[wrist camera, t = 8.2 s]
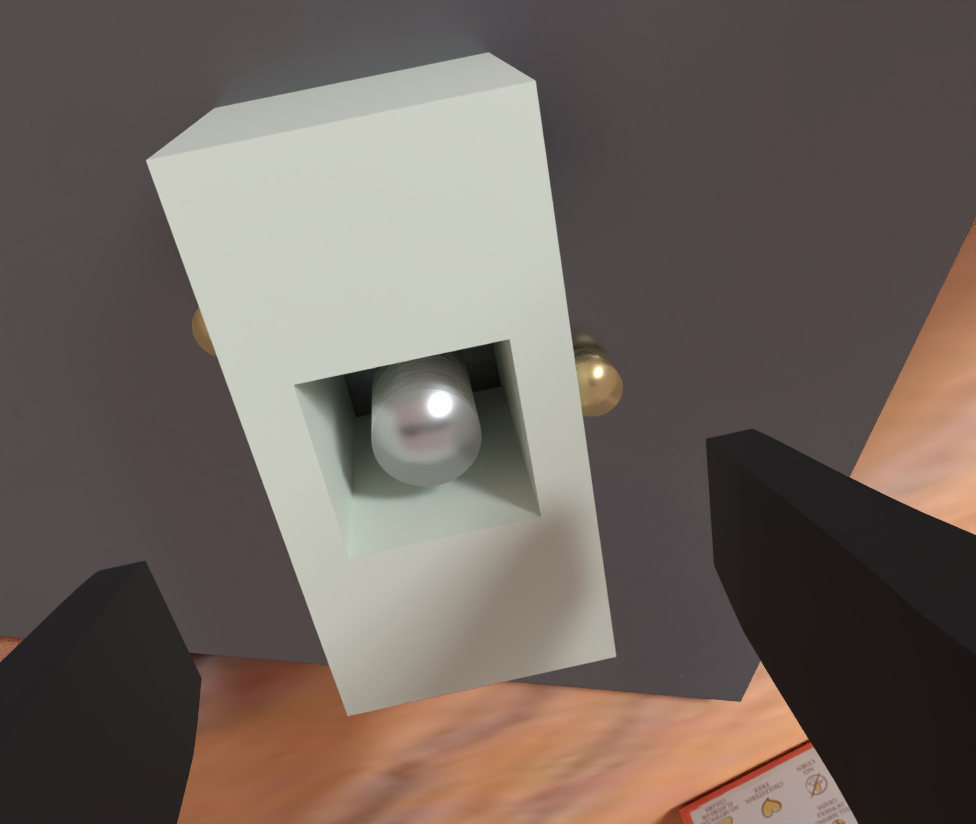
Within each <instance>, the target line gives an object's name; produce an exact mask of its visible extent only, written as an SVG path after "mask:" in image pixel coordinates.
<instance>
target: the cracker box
mask: <svg viewBox="0 0 976 824" xmlns="http://www.w3.org/2000/svg"><path fill="white" fill-rule="evenodd" d="M679 816H680V819H681V821H682V824H858V823H857V821H856V819H855V817H854V815H853V813H852V811H851V810H850V808H849V806H848V804H847V802H846V801H845V799H844V797H843V795H842V794H841V792H840V790H839V788H838V786H837V785H836V783H835V781H834V779H833V778H832V776H831V775H830V773H829V771H828V770H827V768H826V766H825V765H824V763H823V762H822V760H821V758H820V757H819V755H818V753H817V752H816V750H815V749H814V747H813V745H812V744H811V742H809V743H807V744H805V745H803V746H802V747H800V748H798V749H796V750H794V751H792V752H790V753H788V754H786V755H784V756H782V757H780V758H778V759H776V760H774V761H772V762H770V763H768V764H766V765H764V766H763V767H761V768H759V769H757V770H755V771H753V772H751V773H749V774H747V775H745V776H743V777H741V778H740V779H738V780H736V781H734V782H732V783H729V784H727V785H725V786H724V787H722V788H720V789H718V790H716V791H714V792H712V793H710V794H708V795H706V796H704V797H702V798H700V799H698V800H696V801H694V802H693V803H691V804H689V805H687V806H685V807H683V808H682V809H680V811H679Z"/></svg>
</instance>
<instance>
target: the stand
mask: <svg viewBox="0 0 976 824" xmlns="http://www.w3.org/2000/svg"><path fill="white" fill-rule="evenodd" d="M488 52H489V53H491V54H492V55H494V56H496V57H497V58H499V59H501V60H502V61H504V62H506V63H507V64H509V65H510V66H512V67H514V68H515V69H517V70H519V71H520V72H522V73H524V74H525V75H527V76H529V77H530V78H532V79H534V80H535V81H536V87H537V94H538V101H539V108H540V115H541V122H542V130H543V137H544V144H545V151H546V158H547V165H548V172H549V180H550V187H551V194H552V201H553V208H554V215H555V222H556V230H557V237H558V244H559V251H560V258H561V265H562V272H563V280H564V287H565V294H566V301H567V308H568V315H569V323H570V330H571V337H572V344H573V351H574V358H575V365H576V373H577V380H578V387H579V394H580V401H581V408H582V415H583V423H584V430H585V437H586V444H587V451H588V458H589V465H590V473H591V480H592V487H593V494H594V501H595V508H596V515H597V523H598V530H599V537H600V544H601V551H602V558H603V565H604V573H605V580H606V587H607V594H608V601H609V608H610V615H611V623H612V630H613V637H614V644H615V651H616V657H613V658H609V659H604V660H600V661H595V662H591V663H586V664H582V665H577V666H573V667H568V668H563V669H559V670H554V671H550V672H545V673H541V674H536V675H532V676H527V677H523V678H518V679H514V680H509V681H512V682H524V683H535V684H546V685H557V686H569V687H580V688H591V689H602V690H614V691H625V692H636V693H647V694H659V695H670V696H681V697H692V698H704V699H715V700H726V701H737V702H741V700H742V698H743V696H744V694H745V691H746V689H747V687H748V685H749V683H750V681H751V679H752V677H753V675H754V673H755V671H756V669H757V667H758V665H759V663H760V661H761V660H760V659H759V657H758V655H757V654H756V652H755V650H754V649H753V647H752V645H751V644H750V642H749V640H748V639H747V637H746V635H745V634H744V632H743V630H742V628H741V625H740V623H739V621H738V619H737V617H736V614H735V612H734V610H733V608H732V606H731V604H730V601H729V599H728V597H727V594H726V592H725V590H724V587H723V585H722V583H721V581H720V578H719V576H718V574H717V571H716V569H715V567H714V559H713V544H712V529H711V513H710V498H709V482H708V467H707V452H706V439H707V438H711V437H716V436H720V435H725V434H730V433H734V432H739V431H743V430H748V429H755V430H757V431H759V432H762V433H764V434H766V435H768V436H770V437H772V438H774V439H776V440H778V441H780V442H782V443H784V444H786V445H788V446H790V447H792V448H793V449H795V450H797V451H799V452H801V453H803V454H805V455H807V456H809V457H811V458H813V459H815V460H817V461H818V462H820V463H822V464H824V465H826V466H828V467H830V468H832V469H834V470H836V471H838V472H840V473H842V474H844V475H846V476H848V477H850V475H851V473H852V471H853V469H854V467H855V465H856V463H857V461H858V458H859V456H860V454H861V452H862V450H863V448H864V446H865V444H866V442H867V440H868V438H869V436H870V434H871V432H872V430H873V428H874V425H875V423H876V421H877V419H878V417H879V415H880V413H881V411H882V409H883V407H884V405H885V403H886V401H887V399H888V397H889V395H890V392H891V390H892V388H893V386H894V384H895V382H896V380H897V378H898V376H899V374H900V372H901V370H902V368H903V366H904V364H905V362H906V359H907V357H908V355H909V353H910V351H911V349H912V347H913V345H914V343H915V341H916V339H917V337H918V335H919V333H920V331H921V329H922V326H923V324H924V322H925V320H926V318H927V316H928V314H929V312H930V310H931V308H932V306H933V304H934V302H935V300H936V298H937V296H938V293H939V291H940V289H941V287H942V285H943V283H944V281H945V279H946V277H947V275H948V273H949V271H950V269H951V267H952V265H953V263H954V261H955V258H956V256H957V254H958V252H959V250H960V248H961V246H962V244H963V242H964V240H965V238H966V236H967V234H968V232H969V230H970V228H971V225H972V223H973V221H974V219H975V217H976V0H0V636H6V637H18V638H26V637H27V636H28V635H29V634H30V633H31V632H32V631H33V630H34V629H35V628H36V627H37V626H38V625H39V624H40V623H41V622H42V621H43V620H44V619H45V618H46V617H47V616H48V615H50V614H51V613H52V612H53V611H54V610H55V609H56V608H57V607H58V606H59V605H60V604H61V603H62V602H63V601H64V600H65V599H66V598H67V597H68V596H69V595H71V594H72V593H73V592H74V591H75V590H76V589H77V588H78V587H79V586H80V585H82V584H83V583H84V582H85V581H86V580H87V579H89V578H90V577H91V576H92V575H93V574H95V573H96V572H97V571H99V570H104V569H109V568H113V567H118V566H122V565H127V564H132V563H136V562H141V561H145V560H146V562H147V564H148V567H149V569H150V571H151V573H152V575H153V577H154V579H155V581H156V583H157V586H158V588H159V590H160V592H161V594H162V596H163V598H164V600H165V602H166V605H167V607H168V609H169V611H170V613H171V615H172V617H173V619H174V621H175V624H176V626H177V628H178V630H179V632H180V634H181V636H182V638H183V640H184V642H185V645H186V647H187V649H188V651H189V653H198V654H209V655H220V656H231V657H243V658H254V659H265V660H276V661H288V662H299V663H310V664H321V665H329V664H328V661H327V658H326V655H325V653H324V650H323V647H322V644H321V642H320V639H319V636H318V633H317V631H316V628H315V625H314V622H313V620H312V617H311V614H310V611H309V608H308V606H307V603H306V600H305V597H304V595H303V592H302V589H301V586H300V584H299V581H298V578H297V575H296V573H295V570H294V567H293V564H292V562H291V559H290V556H289V553H288V551H287V548H286V545H285V542H284V540H283V537H282V534H281V531H280V529H279V526H278V523H277V520H276V518H275V515H274V512H273V509H272V507H271V504H270V501H269V498H268V496H267V493H266V490H265V487H264V484H263V482H262V479H261V476H260V473H259V471H258V468H257V465H256V462H255V460H254V457H253V454H252V451H251V449H250V446H249V443H248V440H247V438H246V435H245V432H244V429H243V427H242V424H241V421H240V418H239V416H238V413H237V410H236V407H235V405H234V402H233V399H232V396H231V394H230V391H229V388H228V385H227V383H226V380H225V377H224V374H223V372H222V369H221V366H220V363H219V360H218V358H217V355H216V352H215V349H214V347H213V344H212V341H211V338H210V336H209V333H208V330H207V327H206V325H205V322H204V319H203V316H202V314H201V311H200V308H199V305H198V303H197V300H196V297H195V294H194V292H193V289H192V286H191V283H190V281H189V278H188V275H187V272H186V270H185V267H184V264H183V261H182V259H181V256H180V253H179V250H178V248H177V245H176V242H175V239H174V236H173V234H172V231H171V228H170V225H169V223H168V220H167V217H166V214H165V212H164V209H163V206H162V203H161V201H160V198H159V195H158V192H157V190H156V187H155V184H154V181H153V179H152V176H151V173H150V170H149V168H148V165H147V162H146V160H147V159H148V158H150V157H151V156H152V155H154V154H155V153H156V152H158V151H159V150H160V149H162V148H163V147H164V146H165V145H167V144H168V143H169V142H171V141H172V140H173V139H175V138H176V137H177V136H179V135H180V134H181V133H183V132H184V131H185V130H186V129H188V128H189V127H190V126H192V125H193V124H194V123H196V122H197V121H198V120H200V119H201V118H202V117H203V116H205V115H206V114H207V113H209V112H210V111H211V110H213V109H214V108H218V107H222V106H227V105H232V104H237V103H242V102H247V101H252V100H257V99H262V98H267V97H272V96H277V95H281V94H286V93H291V92H296V91H301V90H306V89H311V88H316V87H321V86H326V85H331V84H336V83H340V82H345V81H350V80H355V79H360V78H365V77H370V76H375V75H380V74H385V73H390V72H395V71H399V70H404V69H409V68H414V67H419V66H424V65H429V64H434V63H439V62H444V61H449V60H454V59H458V58H463V57H468V56H473V55H478V54H483V53H488ZM344 378H345V381H346V385H347V388H348V392H349V395H350V399H351V402H352V406H353V409H354V413H355V416H356V417H360V416H365V415H370V414H372V436H371V439H372V449H373V452H374V455H375V458H376V460H377V461H378V463H379V464H380V466H381V467H382V468H383V469H384V470H385V471H386V472H387V473H388V474H389V475H390V476H392V477H393V478H395V479H397V480H399V481H401V482H403V483H406V484H409V485H414V486H435V485H440V484H444V483H447V482H449V481H451V480H453V479H455V478H457V477H459V476H460V475H461V474H463V473H464V472H465V471H466V470H467V469H468V468H469V467H470V466H471V465H472V463H473V462H474V461H475V459H476V457H477V455H478V453H479V450H480V447H481V441H482V433H481V427H480V422H479V418H478V414H477V410H476V405H475V401H474V397H473V392H478V391H482V390H487V389H492V388H496V387H501V384H500V378H499V373H498V368H497V362H496V357H495V352H494V347H493V343H489V344H484V345H479V346H475V347H470V348H465V349H460V350H456V351H451V352H446V353H442V354H437V355H432V356H427V357H423V358H418V359H413V360H409V361H404V362H399V363H394V364H390V365H385V366H380V367H375V368H371V369H366V370H361V371H357V372H352V373H347V374H344Z"/></svg>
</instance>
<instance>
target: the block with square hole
mask: <svg viewBox="0 0 976 824" xmlns="http://www.w3.org/2000/svg"><path fill="white" fill-rule="evenodd" d="M146 162H147V165H148V168H149V170H150V173H151V176H152V179H153V181H154V184H155V187H156V190H157V192H158V195H159V198H160V201H161V203H162V206H163V209H164V212H165V214H166V217H167V220H168V223H169V225H170V228H171V231H172V234H173V236H174V239H175V242H176V245H177V248H178V250H179V253H180V256H181V259H182V261H183V264H184V267H185V270H186V272H187V275H188V278H189V281H190V283H191V286H192V289H193V292H194V294H195V297H196V300H197V303H198V305H199V308H200V311H201V314H202V316H203V319H204V322H205V325H206V327H207V330H208V333H209V336H210V338H211V341H212V344H213V347H214V349H215V352H216V355H217V358H218V360H219V363H220V366H221V369H222V372H223V374H224V377H225V380H226V383H227V385H228V388H229V391H230V394H231V396H232V399H233V402H234V405H235V407H236V410H237V413H238V416H239V418H240V421H241V424H242V427H243V429H244V432H245V435H246V438H247V440H248V443H249V446H250V449H251V451H252V454H253V457H254V460H255V462H256V465H257V468H258V471H259V473H260V476H261V479H262V482H263V484H264V487H265V490H266V493H267V496H268V498H269V501H270V504H271V507H272V509H273V512H274V515H275V518H276V520H277V523H278V526H279V529H280V531H281V534H282V537H283V540H284V542H285V545H286V548H287V551H288V553H289V556H290V559H291V562H292V564H293V567H294V570H295V573H296V575H297V578H298V581H299V584H300V586H301V589H302V592H303V595H304V597H305V600H306V603H307V606H308V608H309V611H310V614H311V617H312V620H313V622H314V625H315V628H316V631H317V633H318V636H319V639H320V642H321V644H322V647H323V650H324V653H325V655H326V658H327V661H328V664H329V666H330V669H331V672H332V675H333V677H334V680H335V683H336V686H337V688H338V691H339V694H340V697H341V699H342V702H343V705H344V708H345V710H346V713H347V716H351V715H356V714H360V713H365V712H369V711H374V710H378V709H383V708H387V707H392V706H396V705H401V704H405V703H410V702H415V701H419V700H424V699H428V698H433V697H437V696H442V695H446V694H451V693H455V692H460V691H464V690H469V689H473V688H478V687H482V686H487V685H491V684H496V683H500V682H505V681H509V680H514V679H518V678H523V677H527V676H532V675H536V674H541V673H545V672H550V671H554V670H559V669H563V668H568V667H573V666H577V665H582V664H586V663H591V662H595V661H600V660H604V659H609V658H613V657H616V651H615V644H614V637H613V630H612V623H611V615H610V608H609V601H608V594H607V587H606V580H605V573H604V565H603V558H602V551H601V544H600V537H599V530H598V523H597V515H596V508H595V501H594V494H593V487H592V480H591V473H590V465H589V458H588V451H587V444H586V437H585V430H584V423H583V415H582V408H581V401H580V394H579V387H578V380H577V373H576V365H575V358H574V351H573V344H572V337H571V330H570V323H569V315H568V308H567V301H566V294H565V287H564V280H563V272H562V265H561V258H560V251H559V244H558V237H557V230H556V222H555V215H554V208H553V201H552V194H551V187H550V180H549V172H548V165H547V158H546V151H545V144H544V137H543V130H542V122H541V115H540V108H539V101H538V94H537V87H536V81H535V80H534V79H532V78H530V77H529V76H527V75H525V74H524V73H522V72H520V71H519V70H517V69H515V68H514V67H512V66H510V65H509V64H507V63H506V62H504V61H502V60H501V59H499V58H497V57H496V56H494V55H492V54H491V53H489V52H488V53H483V54H478V55H473V56H468V57H463V58H458V59H454V60H449V61H444V62H439V63H434V64H429V65H424V66H419V67H414V68H409V69H404V70H399V71H395V72H390V73H385V74H380V75H375V76H370V77H365V78H360V79H355V80H350V81H345V82H340V83H336V84H331V85H326V86H321V87H316V88H311V89H306V90H301V91H296V92H291V93H286V94H281V95H277V96H272V97H267V98H262V99H257V100H252V101H247V102H242V103H237V104H232V105H227V106H222V107H218V108H214V109H213V110H211V111H210V112H209V113H207V114H206V115H205V116H203V117H202V118H201V119H200V120H198V121H197V122H196V123H194V124H193V125H192V126H190V127H189V128H188V129H186V130H185V131H184V132H183V133H181V134H180V135H179V136H177V137H176V138H175V139H173V140H172V141H171V142H169V143H168V144H167V145H165V146H164V147H163V148H162V149H160V150H159V151H158V152H156V153H155V154H154V155H152V156H151V157H150V158H148V159H147V160H146ZM489 343H493V347H494V352H495V357H496V362H497V368H498V373H499V378H500V384H501V387H496V388H492V389H487V390H482V391H478V392H473V397H474V401H475V405H476V410H477V414H478V418H479V422H480V427H481V433H482V441H481V447H480V450H479V453H478V455H477V457H476V459H475V461H474V462H473V463H472V465H471V466H470V467H469V468H468V469H467V470H466V471H465V472H464V473H463V474H461V475H460V476H459V477H457V478H455V479H453V480H451V481H449V482H447V483H444V484H440V485H435V486H414V485H409V484H406V483H403V482H401V481H399V480H397V479H395V478H393V477H392V476H390V475H389V474H388V473H387V472H386V471H385V470H384V469H383V468H382V467H381V466H380V464H379V463H378V461H377V460H376V458H375V455H374V452H373V449H372V439H371V436H372V414H370V415H365V416H360V417H356V416H355V413H354V409H353V406H352V402H351V399H350V395H349V392H348V388H347V385H346V381H345V378H344V374H347V373H352V372H357V371H361V370H366V369H371V368H375V367H380V366H385V365H390V364H394V363H399V362H404V361H409V360H413V359H418V358H423V357H427V356H432V355H437V354H442V353H446V352H451V351H456V350H460V349H465V348H470V347H475V346H479V345H484V344H489Z"/></svg>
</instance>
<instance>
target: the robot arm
mask: <svg viewBox="0 0 976 824" xmlns="http://www.w3.org/2000/svg"><path fill="white" fill-rule="evenodd" d="M706 452H707V467H708V482H709V498H710V513H711V529H712V544H713V559H714V567H715V569H716V571H717V574H718V576H719V578H720V581H721V583H722V585H723V587H724V590H725V592H726V594H727V597H728V599H729V601H730V604H731V606H732V608H733V610H734V612H735V614H736V617H737V619H738V621H739V623H740V625H741V628H742V630H743V632H744V634H745V635H746V637H747V639H748V640H749V642H750V644H751V645H752V647H753V649H754V650H755V652H756V654H757V655H758V657H759V659H760V660H761V662H762V664H763V665H764V667H765V669H766V670H767V672H768V674H769V675H770V677H771V678H772V680H773V682H774V683H775V685H776V687H777V688H778V690H779V692H780V693H781V695H782V696H783V698H784V700H785V701H786V703H787V705H788V706H789V708H790V709H791V711H792V713H793V714H794V716H795V718H796V719H797V721H798V722H799V724H800V726H801V727H802V729H803V731H804V732H805V734H806V736H807V737H808V739H809V740H810V742H811V744H812V745H813V747H814V749H815V750H816V752H817V753H818V755H819V757H820V758H821V760H822V762H823V763H824V765H825V766H826V768H827V770H828V771H829V773H830V775H831V776H832V778H833V779H834V781H835V783H836V785H837V786H838V788H839V790H840V792H841V794H842V795H843V797H844V799H845V801H846V802H847V804H848V806H849V808H850V810H851V811H852V813H853V815H854V817H855V819H856V821H857V823H858V824H976V535H974V534H972V533H970V532H967V531H965V530H963V529H960V528H958V527H956V526H953V525H951V524H949V523H946V522H944V521H941V520H939V519H937V518H934V517H932V516H930V515H927V514H925V513H923V512H921V511H918V510H916V509H914V508H912V507H910V506H908V505H905V504H903V503H901V502H899V501H897V500H895V499H893V498H890V497H888V496H886V495H884V494H882V493H880V492H878V491H876V490H874V489H872V488H870V487H868V486H866V485H864V484H862V483H860V482H858V481H856V480H854V479H852V478H850V477H848V476H846V475H844V474H842V473H840V472H838V471H836V470H834V469H832V468H830V467H828V466H826V465H824V464H822V463H820V462H818V461H817V460H815V459H813V458H811V457H809V456H807V455H805V454H803V453H801V452H799V451H797V450H795V449H793V448H792V447H790V446H788V445H786V444H784V443H782V442H780V441H778V440H776V439H774V438H772V437H770V436H768V435H766V434H764V433H762V432H759V431H757V430H755V429H748V430H743V431H739V432H734V433H730V434H725V435H720V436H716V437H711V438H707V439H706ZM200 688H201V676H200V674H199V672H198V670H197V668H196V666H195V664H194V661H193V659H192V657H191V655H190V653H189V651H188V649H187V647H186V645H185V642H184V640H183V638H182V636H181V634H180V632H179V630H178V628H177V626H176V624H175V621H174V619H173V617H172V615H171V613H170V611H169V609H168V607H167V605H166V602H165V600H164V598H163V596H162V594H161V592H160V590H159V588H158V586H157V583H156V581H155V579H154V577H153V575H152V573H151V571H150V569H149V567H148V564H147V562H146V560H145V561H141V562H136V563H132V564H127V565H122V566H118V567H113V568H109V569H104V570H99V571H97V572H96V573H95V574H93V575H92V576H91V577H90V578H89V579H87V580H86V581H85V582H84V583H83V584H82V585H80V586H79V587H78V588H77V589H76V590H75V591H74V592H73V593H72V594H71V595H69V596H68V597H67V598H66V599H65V600H64V601H63V602H62V603H61V604H60V605H59V606H58V607H57V608H56V609H55V610H54V611H53V612H52V613H51V614H50V615H48V616H47V617H46V618H45V619H44V620H43V621H42V622H41V623H40V624H39V625H38V626H37V627H36V628H35V629H34V630H33V631H32V632H31V633H30V634H29V635H28V636H27V637H26V638H25V639H24V640H23V641H22V642H21V643H20V644H19V645H18V646H17V647H16V648H15V649H14V650H13V651H12V652H11V653H10V654H9V655H7V656H6V657H5V658H4V659H3V660H2V661H1V662H0V824H177V821H178V817H179V813H180V809H181V805H182V801H183V796H184V792H185V788H186V784H187V780H188V776H189V771H190V767H191V763H192V758H193V754H194V746H195V738H196V730H197V721H198V711H199V700H200Z"/></svg>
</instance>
